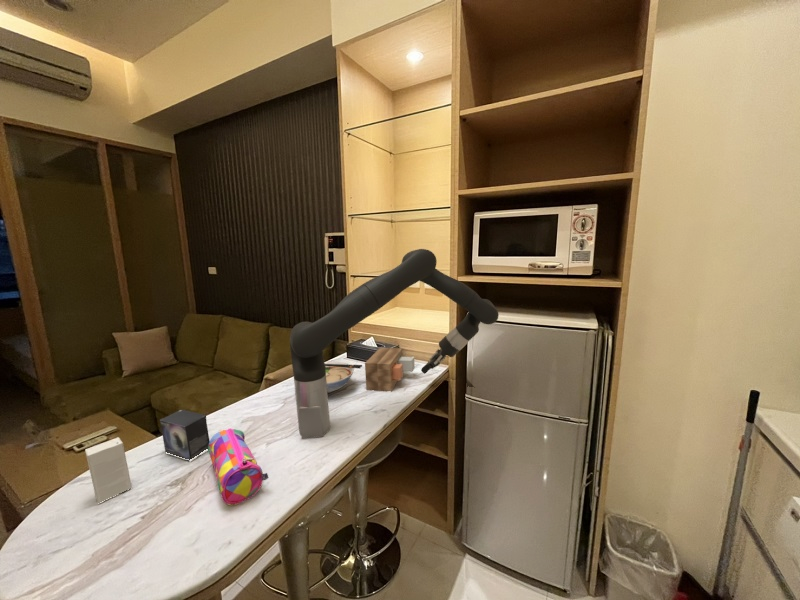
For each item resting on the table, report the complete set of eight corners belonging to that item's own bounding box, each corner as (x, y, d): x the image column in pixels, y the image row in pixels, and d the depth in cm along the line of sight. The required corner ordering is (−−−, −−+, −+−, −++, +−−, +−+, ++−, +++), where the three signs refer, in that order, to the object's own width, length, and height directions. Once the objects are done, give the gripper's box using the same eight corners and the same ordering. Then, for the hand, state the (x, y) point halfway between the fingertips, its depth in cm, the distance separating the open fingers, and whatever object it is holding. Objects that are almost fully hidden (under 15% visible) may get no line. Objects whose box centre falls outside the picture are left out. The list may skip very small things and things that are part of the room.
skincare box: (128, 481, 77) (119, 436, 75) (132, 489, 74) (123, 442, 72) (94, 496, 72) (84, 448, 70) (97, 505, 70) (87, 456, 68)
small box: (163, 455, 87) (157, 419, 85) (186, 441, 93) (181, 408, 91) (189, 463, 83) (183, 426, 81) (212, 448, 89) (207, 414, 87)
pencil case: (271, 493, 71) (267, 456, 70) (225, 516, 65) (219, 477, 64) (245, 450, 88) (241, 419, 86) (206, 465, 82) (202, 433, 81)
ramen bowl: (281, 399, 118) (278, 378, 116) (314, 376, 139) (313, 358, 138) (341, 406, 110) (339, 384, 109) (366, 380, 132) (365, 362, 131)
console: (366, 390, 123) (364, 363, 121) (381, 371, 142) (380, 347, 140) (391, 391, 120) (389, 364, 119) (402, 372, 140) (401, 348, 138)
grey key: (396, 371, 132) (395, 359, 131) (399, 367, 136) (398, 355, 136) (412, 372, 130) (411, 360, 129) (414, 367, 135) (414, 356, 134)
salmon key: (383, 379, 124) (382, 367, 123) (386, 374, 128) (386, 362, 128) (400, 380, 122) (399, 368, 121) (403, 375, 127) (402, 363, 126)
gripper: (448, 330, 125) (419, 359, 129) (444, 339, 112) (412, 371, 117) (462, 343, 124) (432, 372, 129) (460, 354, 111) (427, 385, 116)
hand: (422, 371), depth 123 cm, fingers closed
